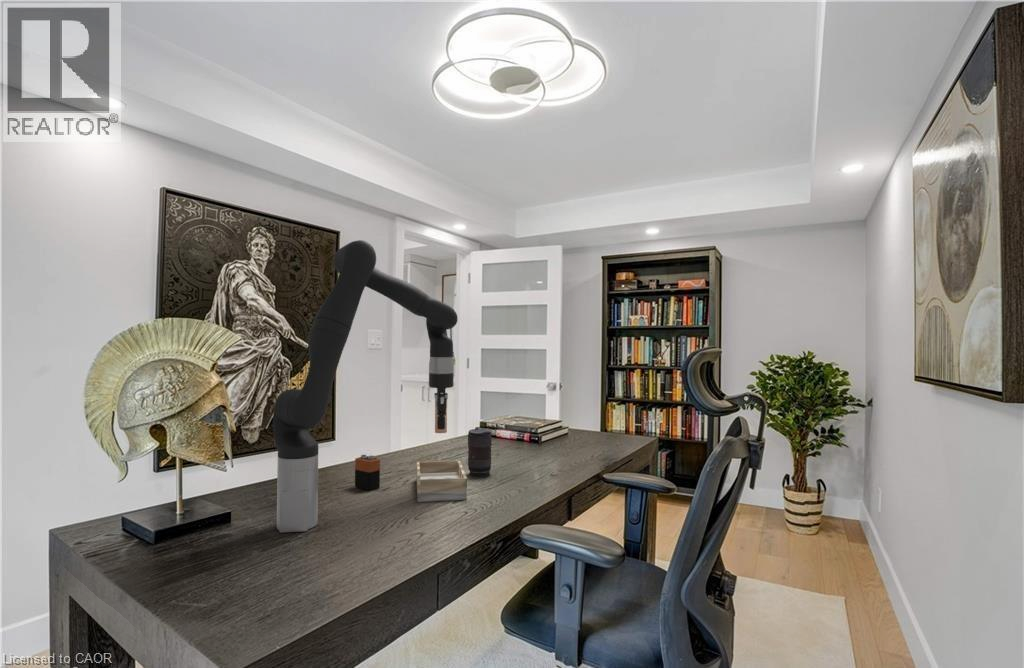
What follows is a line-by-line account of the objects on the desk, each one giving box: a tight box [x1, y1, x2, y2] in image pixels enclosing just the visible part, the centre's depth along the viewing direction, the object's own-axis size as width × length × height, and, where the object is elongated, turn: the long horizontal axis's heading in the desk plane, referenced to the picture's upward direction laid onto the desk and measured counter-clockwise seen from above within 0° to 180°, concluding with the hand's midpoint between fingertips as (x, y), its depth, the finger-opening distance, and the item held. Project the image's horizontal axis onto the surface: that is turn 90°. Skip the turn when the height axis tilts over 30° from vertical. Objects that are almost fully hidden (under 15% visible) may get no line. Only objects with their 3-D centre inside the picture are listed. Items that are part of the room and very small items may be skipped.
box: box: [416, 460, 468, 503], centre depth 157 cm, size 22×14×6 cm, turn 11°
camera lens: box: [467, 428, 493, 478], centre depth 174 cm, size 8×8×15 cm
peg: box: [434, 402, 448, 434], centre depth 157 cm, size 4×4×9 cm
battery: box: [354, 454, 381, 492], centre depth 158 cm, size 4×7×10 cm, turn 58°
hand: (440, 427), depth 157 cm, fingers closed on peg, 3 cm apart
